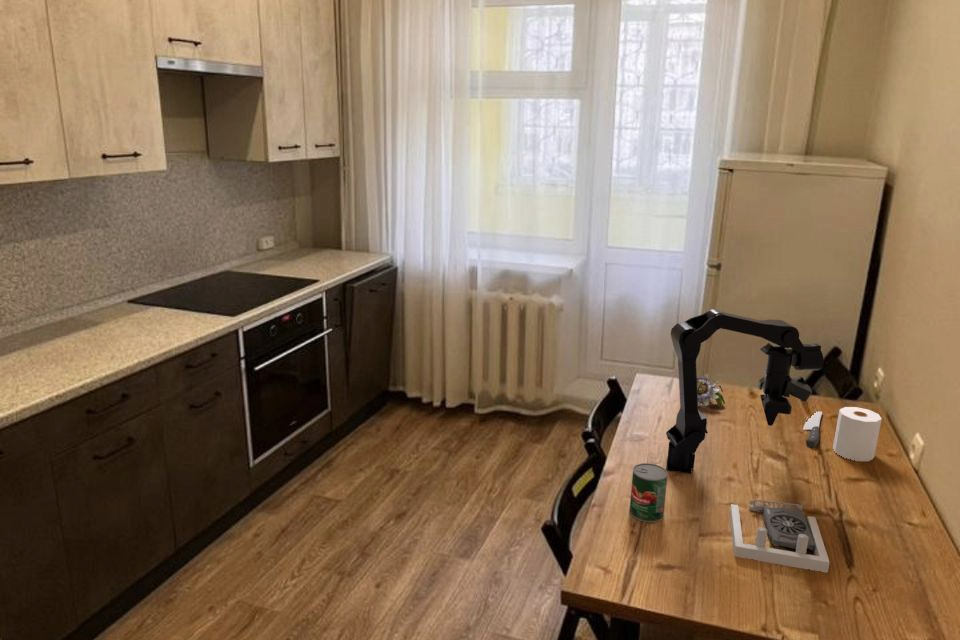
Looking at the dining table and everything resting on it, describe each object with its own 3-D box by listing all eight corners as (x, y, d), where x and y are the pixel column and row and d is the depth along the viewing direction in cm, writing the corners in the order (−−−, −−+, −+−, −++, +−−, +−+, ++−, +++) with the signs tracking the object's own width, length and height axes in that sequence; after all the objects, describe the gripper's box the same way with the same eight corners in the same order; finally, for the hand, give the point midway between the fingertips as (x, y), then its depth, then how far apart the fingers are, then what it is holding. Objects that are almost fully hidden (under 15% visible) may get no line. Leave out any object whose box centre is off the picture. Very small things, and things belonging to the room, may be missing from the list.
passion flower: (695, 422, 226) (676, 392, 225) (702, 405, 235) (683, 376, 233) (726, 411, 219) (707, 380, 218) (732, 394, 228) (713, 364, 227)
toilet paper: (834, 457, 192) (841, 417, 188) (831, 442, 201) (838, 404, 198) (875, 465, 188) (883, 424, 185) (870, 449, 197) (878, 409, 194)
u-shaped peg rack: (734, 556, 147) (737, 531, 145) (729, 513, 163) (732, 490, 162) (827, 572, 142) (832, 547, 141) (813, 526, 158) (817, 503, 157)
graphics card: (749, 496, 165) (803, 502, 162) (747, 510, 166) (801, 516, 164) (760, 536, 149) (820, 544, 147) (758, 551, 150) (817, 559, 148)
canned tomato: (665, 508, 165) (669, 466, 162) (662, 525, 158) (666, 482, 155) (631, 501, 168) (635, 460, 164) (627, 518, 160) (630, 476, 157)
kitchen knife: (805, 407, 224) (822, 407, 221) (806, 415, 224) (823, 414, 222) (797, 440, 199) (816, 440, 196) (799, 449, 199) (818, 448, 197)
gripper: (818, 386, 168) (808, 444, 172) (806, 361, 185) (798, 415, 189) (768, 380, 171) (760, 438, 175) (762, 357, 188) (754, 410, 192)
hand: (769, 425), depth 183 cm, fingers closed
